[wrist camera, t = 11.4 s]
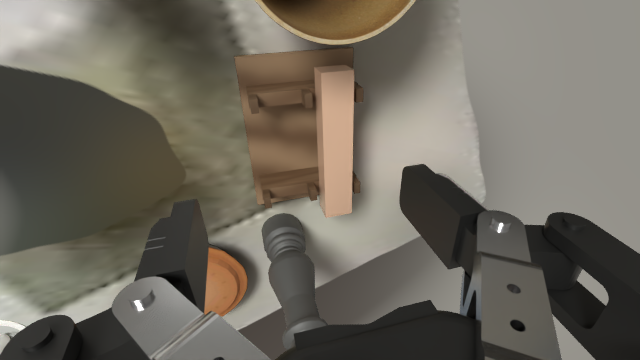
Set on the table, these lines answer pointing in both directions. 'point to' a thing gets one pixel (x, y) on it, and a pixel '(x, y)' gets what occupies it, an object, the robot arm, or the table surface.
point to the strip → (335, 137)
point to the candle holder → (291, 275)
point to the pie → (223, 282)
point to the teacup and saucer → (3, 339)
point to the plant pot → (335, 18)
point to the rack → (285, 120)
